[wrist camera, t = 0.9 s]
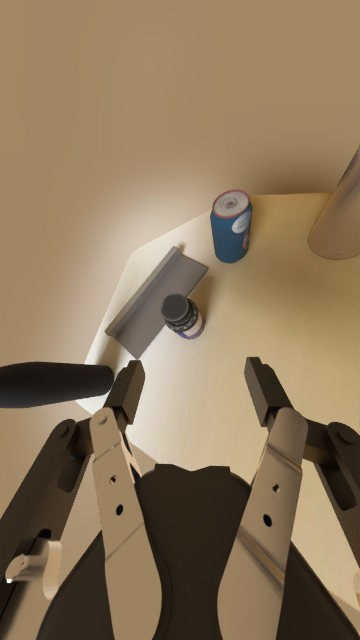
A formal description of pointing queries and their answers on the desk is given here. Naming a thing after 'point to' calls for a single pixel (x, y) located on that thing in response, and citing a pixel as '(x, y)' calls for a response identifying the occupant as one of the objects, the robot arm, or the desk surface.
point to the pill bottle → (182, 316)
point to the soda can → (231, 225)
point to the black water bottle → (51, 383)
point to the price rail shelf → (154, 301)
